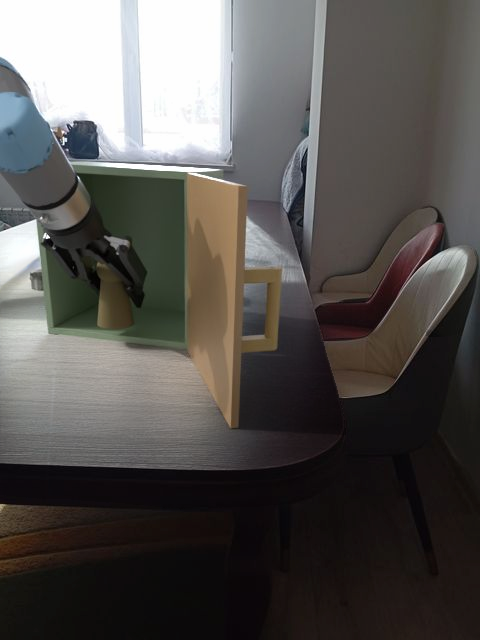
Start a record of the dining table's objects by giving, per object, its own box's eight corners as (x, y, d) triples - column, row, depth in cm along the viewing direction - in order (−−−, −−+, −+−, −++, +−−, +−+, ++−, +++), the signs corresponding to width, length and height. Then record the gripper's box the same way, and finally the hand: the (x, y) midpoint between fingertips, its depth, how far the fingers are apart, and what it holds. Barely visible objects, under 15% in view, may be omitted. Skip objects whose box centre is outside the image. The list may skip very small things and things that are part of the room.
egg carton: (29, 290, 116) (26, 272, 114) (33, 282, 122) (31, 265, 121) (79, 289, 118) (77, 272, 117) (80, 281, 125) (79, 265, 124)
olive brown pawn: (140, 320, 89) (138, 256, 85) (125, 330, 83) (122, 263, 79) (107, 316, 90) (103, 253, 86) (90, 327, 84) (85, 260, 80)
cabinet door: (224, 348, 87) (228, 174, 77) (279, 422, 64) (295, 187, 54) (187, 351, 85) (187, 172, 75) (230, 428, 62) (238, 185, 52)
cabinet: (191, 350, 86) (191, 171, 76) (47, 333, 90) (30, 161, 80) (220, 319, 103) (223, 169, 93) (97, 306, 107) (87, 161, 97)
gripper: (-8, 227, 68) (69, 312, 89) (121, 238, 65) (169, 324, 86) (13, 183, 71) (83, 276, 92) (137, 192, 68) (180, 285, 89)
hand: (124, 299), depth 89 cm, fingers closed on olive brown pawn, 5 cm apart
